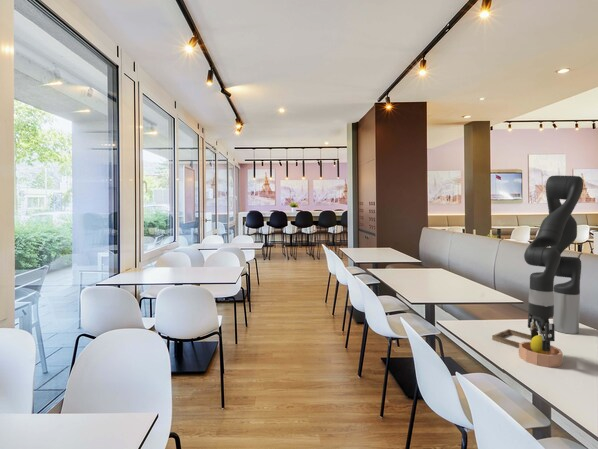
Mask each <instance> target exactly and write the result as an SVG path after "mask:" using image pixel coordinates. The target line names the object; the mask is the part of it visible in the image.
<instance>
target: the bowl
mask: <svg viewBox="0 0 598 449" xmlns="http://www.w3.org/2000/svg"><path fill="white" fill-rule="evenodd" d="M518 343H519V348H518V356H519V358H520V359H521V360H523V361H525V362H526V363H528V364H532V365H534V366H539V367H547V368H559V367H560V366H562V365H563V357H564V356H563V354H564V353H563V352H562V350H561V349H560V348H558V347H555V346H554V345H551V344H550V351H549V352H548V353H547V354H539V353H535V352H533V351H532V349H531V346H530V344H531V341H522V342H518Z"/></svg>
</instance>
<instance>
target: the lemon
mask: <svg viewBox="0 0 598 449" xmlns="http://www.w3.org/2000/svg"><path fill="white" fill-rule="evenodd" d="M530 342H531V344H530V346H531V349H532V351H533V352H535V353H539V354H547V353H548V351H543V350H542V336H541V334H538V335H537V336H534V337H533V338H532V340H530Z"/></svg>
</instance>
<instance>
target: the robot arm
mask: <svg viewBox="0 0 598 449" xmlns="http://www.w3.org/2000/svg"><path fill="white" fill-rule="evenodd" d="M583 189H584V181H583V178H582V177H581V176H579V175H551V176H549V177H548V178H547V180H546V183H545V196H546V202H547V203H546V204H547V207H548V208H547V209H548V215H547V216H546V217H544V219H543V220H542V222H541V224H540V226H539V230H538V232H537V235H536V236H535V238H534V239H533V240H532V241H531V242H530V244H529V245H528V246H527V247H526V249H525V252H524V254H523V258H524V262H526V264H527V265H529V266H534V267H543V268H545V269H544V271H538V272H532V273H530V275H529V292H528V310H527V311H528V315H527V328H528V329H529V331H530V335H531V340H532V338H533V337H534V336H537V335H541V336H542V350H543V351H548V352H549V351H550V345H551V342H555V338H556V337H555V333H556V332H555V331H557V332H560V333H564V334H570V335H576V334H577V335H578V334H579V333H580V306H581V304H580V296H581V287H580V286H581V277H582V276H581V275H582V261H581V259H580V257H577V256H575V257H574V256H562V253H563V252H564V251H565V250H566V249H568V248H569V247H570V246H571V245H572V244H573V243H574V242H576V239H577V237H578V224H577V221H576V220H575V219H576V218H574V217H573V215H572V213H573V211H574V210H575V208H576V206H577V204H578V202H579V200H580V198H581V196H582V193H583ZM561 200H565V201H564V202H563V203H561ZM555 277H560V278H569V279H570V280H568V281H566V282H562V283H557V284H556V283H554V282H555ZM550 318H552V323H550V320H549V319H550ZM531 340H530V341H531Z"/></svg>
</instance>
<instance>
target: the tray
mask: <svg viewBox="0 0 598 449" xmlns="http://www.w3.org/2000/svg"><path fill="white" fill-rule="evenodd" d="M508 335H512V336H515V337H518V338H521V339H526V340H530V341H531V334H528V333H525V332H521V331H517V330H513V329H509V328H508V329H505V330H502V331H500V332H498V333H495V334H493V335H492V336H491V340H492V341H494V342H495V341H496V342H498V343H500V344H501V343H503V344H505V345H509V346H511V347H514V346H515V347H514V348H517V349H519V343H520V342H519V341H515V340H511V339H508V338H504V337H506V336H508Z"/></svg>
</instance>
